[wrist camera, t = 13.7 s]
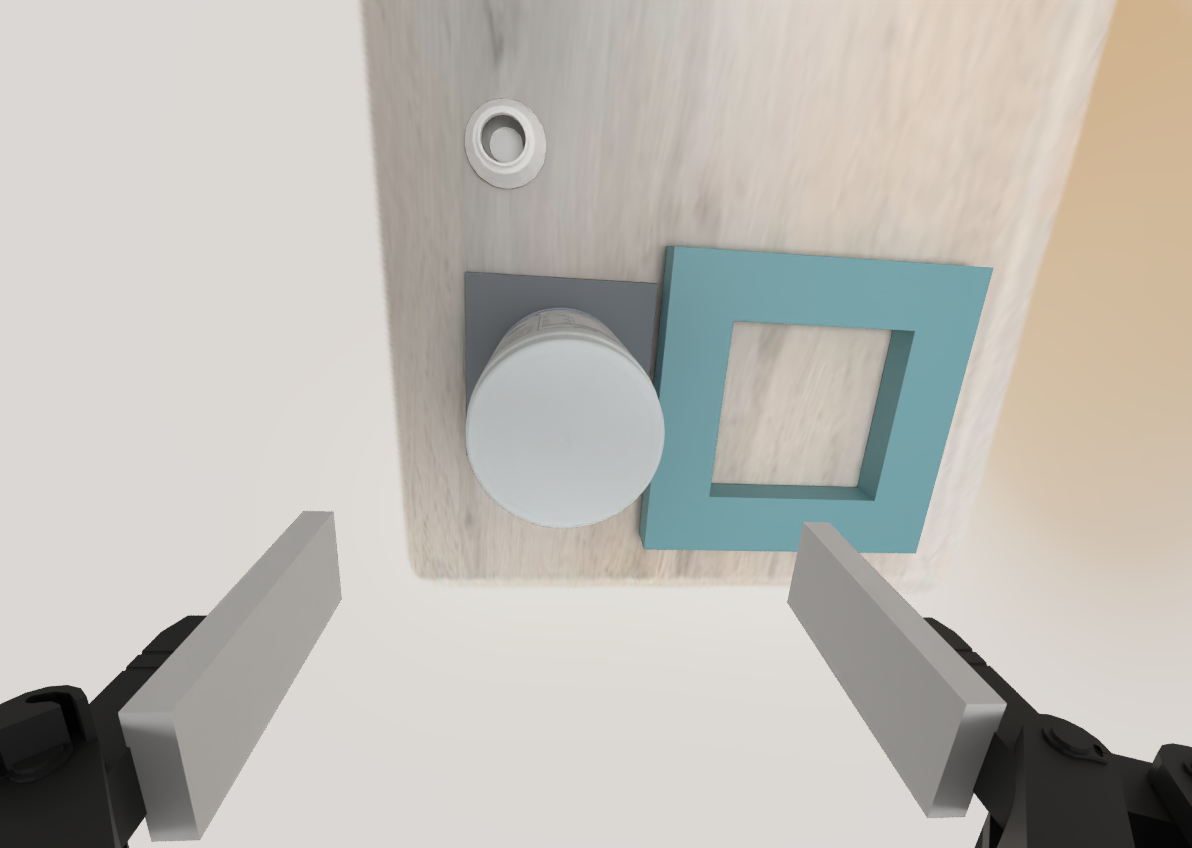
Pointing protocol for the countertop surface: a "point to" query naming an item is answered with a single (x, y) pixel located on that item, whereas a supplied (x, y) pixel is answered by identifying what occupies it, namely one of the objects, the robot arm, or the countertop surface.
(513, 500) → the supplement tub
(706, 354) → the holder frame
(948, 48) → the countertop surface
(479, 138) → the white jar
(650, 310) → the slate mat
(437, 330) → the countertop surface
